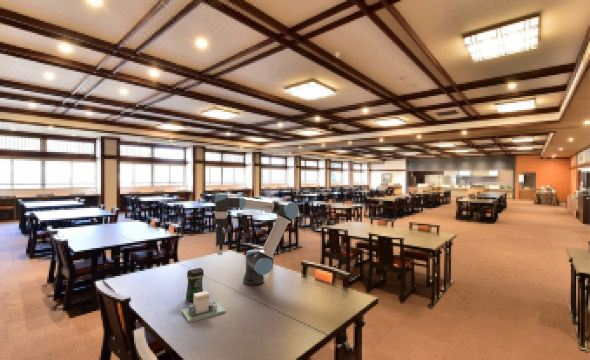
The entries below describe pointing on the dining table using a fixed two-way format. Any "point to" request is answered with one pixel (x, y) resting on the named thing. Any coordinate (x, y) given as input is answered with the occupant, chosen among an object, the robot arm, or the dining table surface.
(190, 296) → the coffee jar
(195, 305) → the plug
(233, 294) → the dining table surface
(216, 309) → the board
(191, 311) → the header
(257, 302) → the dining table surface
